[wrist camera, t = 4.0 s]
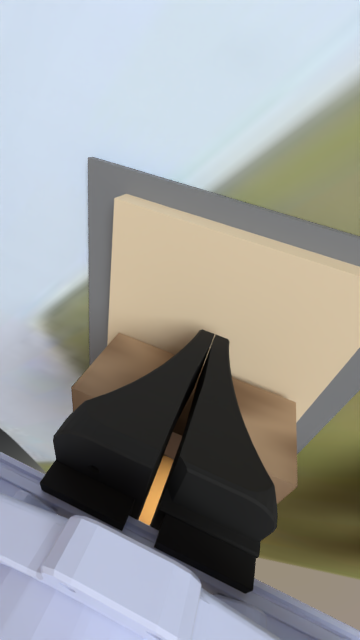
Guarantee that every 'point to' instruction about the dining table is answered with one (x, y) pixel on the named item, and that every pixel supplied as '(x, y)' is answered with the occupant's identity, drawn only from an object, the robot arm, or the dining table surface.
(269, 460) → the pusher bar
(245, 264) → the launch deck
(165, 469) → the ball
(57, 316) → the dining table surface
